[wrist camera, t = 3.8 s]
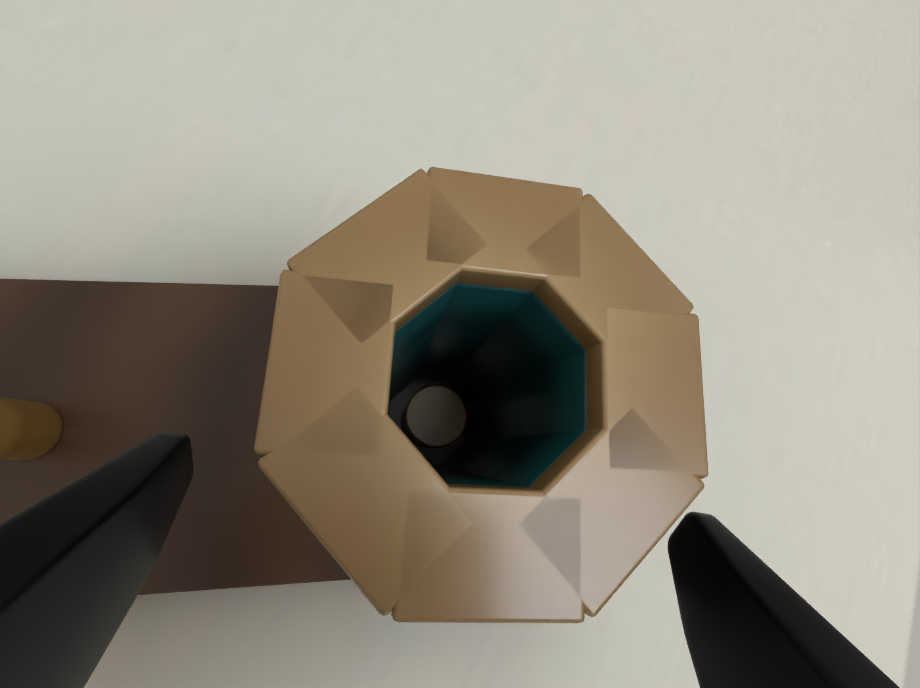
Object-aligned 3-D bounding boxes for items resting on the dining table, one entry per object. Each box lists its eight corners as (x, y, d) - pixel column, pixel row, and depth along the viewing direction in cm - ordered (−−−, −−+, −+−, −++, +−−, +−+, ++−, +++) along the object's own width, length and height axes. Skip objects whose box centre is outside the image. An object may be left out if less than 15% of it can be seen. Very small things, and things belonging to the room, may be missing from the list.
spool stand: (535, 301, 20) (581, 257, 15) (552, 556, 17) (612, 594, 13) (-78, 287, 16) (-259, 224, 12) (-152, 606, 14) (-408, 681, 9)
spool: (540, 430, 17) (791, 399, 7) (416, 549, 16) (486, 762, 5) (434, 308, 18) (511, 95, 7) (302, 414, 16) (145, 346, 5)
